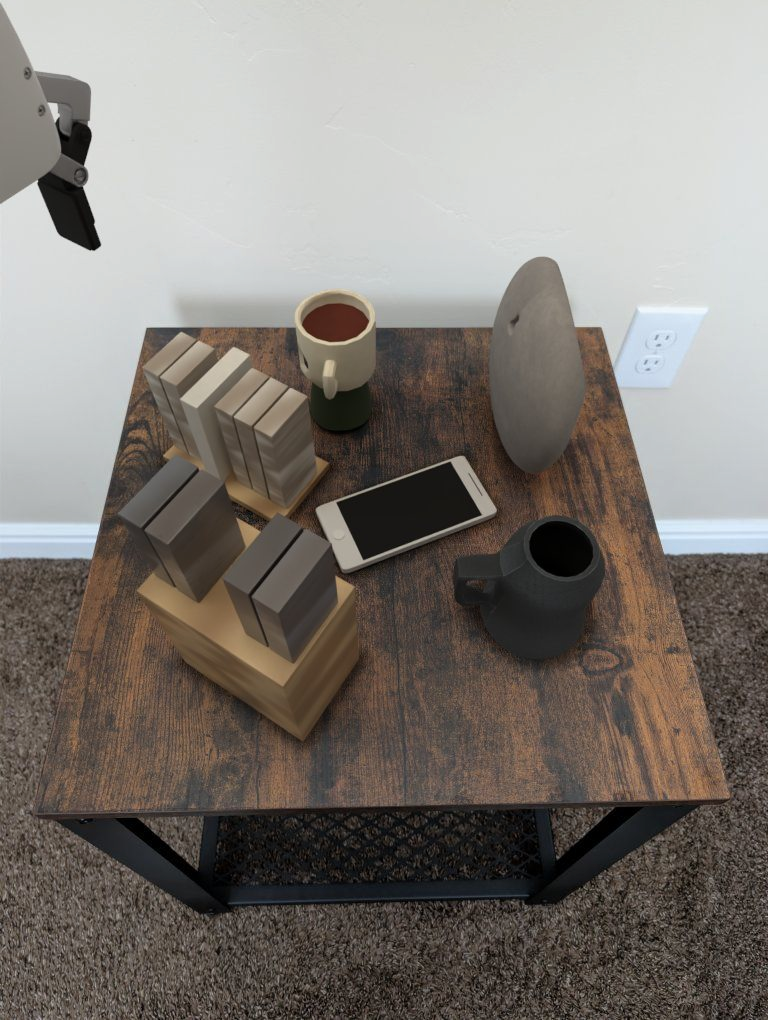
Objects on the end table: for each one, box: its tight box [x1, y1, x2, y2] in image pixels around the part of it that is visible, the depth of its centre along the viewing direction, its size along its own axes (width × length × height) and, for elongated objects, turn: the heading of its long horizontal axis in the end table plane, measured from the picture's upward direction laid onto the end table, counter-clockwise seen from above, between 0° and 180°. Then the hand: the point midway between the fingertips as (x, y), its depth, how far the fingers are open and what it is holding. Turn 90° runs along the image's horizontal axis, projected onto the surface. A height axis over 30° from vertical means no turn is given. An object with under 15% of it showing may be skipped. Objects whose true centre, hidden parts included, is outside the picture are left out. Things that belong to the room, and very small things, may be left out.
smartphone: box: [315, 455, 498, 574], centre depth 65 cm, size 7×15×1 cm, turn 114°
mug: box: [452, 514, 606, 661], centre depth 56 cm, size 12×9×11 cm
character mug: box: [294, 288, 377, 432], centre depth 67 cm, size 11×7×13 cm, turn 174°
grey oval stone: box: [488, 256, 587, 475], centre depth 63 cm, size 18×7×19 cm, turn 3°
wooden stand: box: [117, 454, 360, 742], centre depth 49 cm, size 12×8×22 cm, turn 58°
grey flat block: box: [180, 346, 254, 482], centre depth 63 cm, size 2×7×11 cm, turn 148°
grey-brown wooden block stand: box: [141, 331, 330, 523], centre depth 63 cm, size 14×8×12 cm, turn 58°
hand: (22, 284), depth 42 cm, fingers open, 9 cm apart
